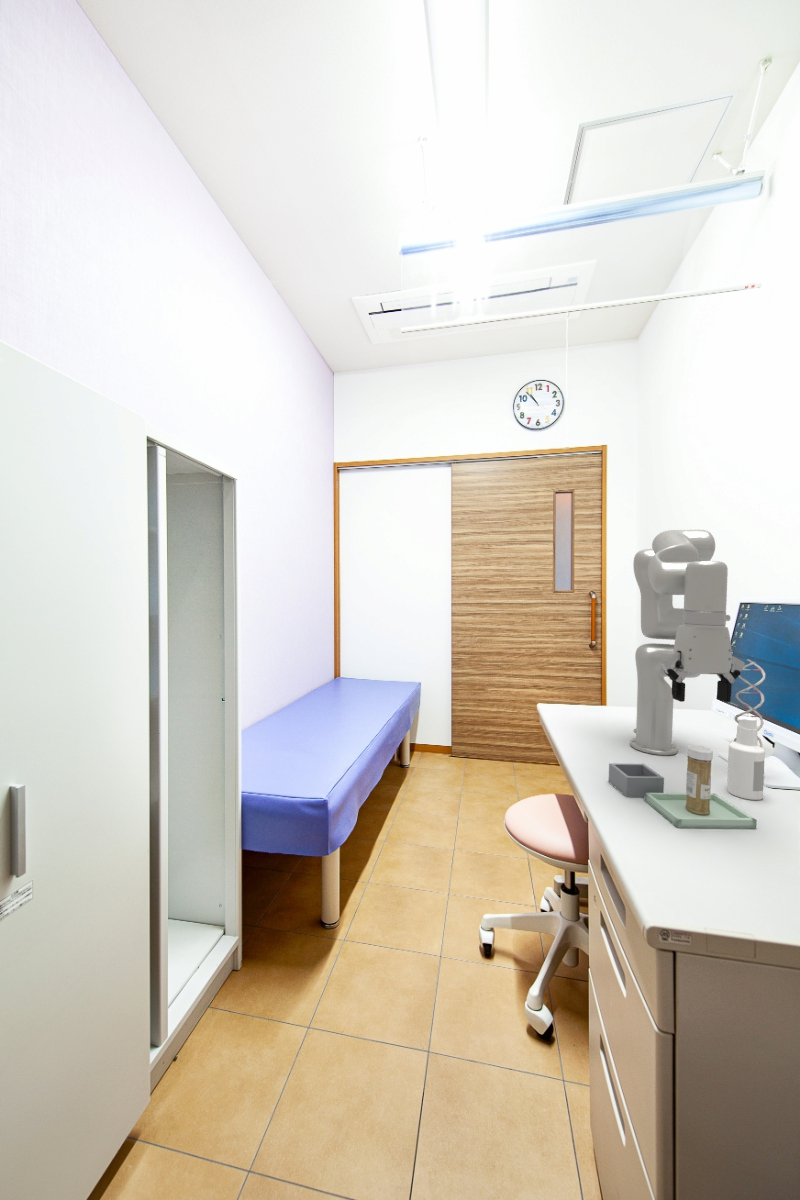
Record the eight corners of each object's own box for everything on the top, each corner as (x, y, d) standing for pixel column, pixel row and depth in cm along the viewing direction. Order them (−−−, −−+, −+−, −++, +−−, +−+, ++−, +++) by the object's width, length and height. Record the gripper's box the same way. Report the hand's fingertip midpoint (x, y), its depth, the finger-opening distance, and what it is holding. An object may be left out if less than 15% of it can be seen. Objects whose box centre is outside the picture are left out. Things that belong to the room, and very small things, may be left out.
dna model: (766, 782, 116) (771, 663, 115) (736, 778, 118) (740, 661, 118) (756, 773, 122) (761, 659, 122) (727, 769, 125) (732, 657, 124)
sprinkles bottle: (712, 817, 96) (715, 753, 96) (687, 813, 98) (689, 749, 97) (707, 808, 100) (709, 746, 100) (682, 804, 102) (685, 743, 102)
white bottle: (769, 802, 105) (772, 723, 105) (735, 798, 106) (738, 720, 106) (753, 789, 112) (756, 715, 111) (721, 786, 113) (724, 713, 113)
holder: (608, 781, 115) (609, 763, 115) (643, 781, 115) (643, 763, 115) (626, 797, 106) (626, 777, 106) (663, 797, 106) (664, 778, 106)
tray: (644, 800, 105) (644, 792, 105) (714, 801, 105) (714, 793, 105) (677, 828, 93) (677, 819, 93) (756, 828, 93) (756, 820, 93)
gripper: (731, 619, 102) (728, 696, 102) (653, 617, 102) (650, 695, 102) (758, 622, 94) (754, 705, 95) (674, 620, 94) (671, 704, 95)
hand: (700, 700), depth 98 cm, fingers open, 9 cm apart
